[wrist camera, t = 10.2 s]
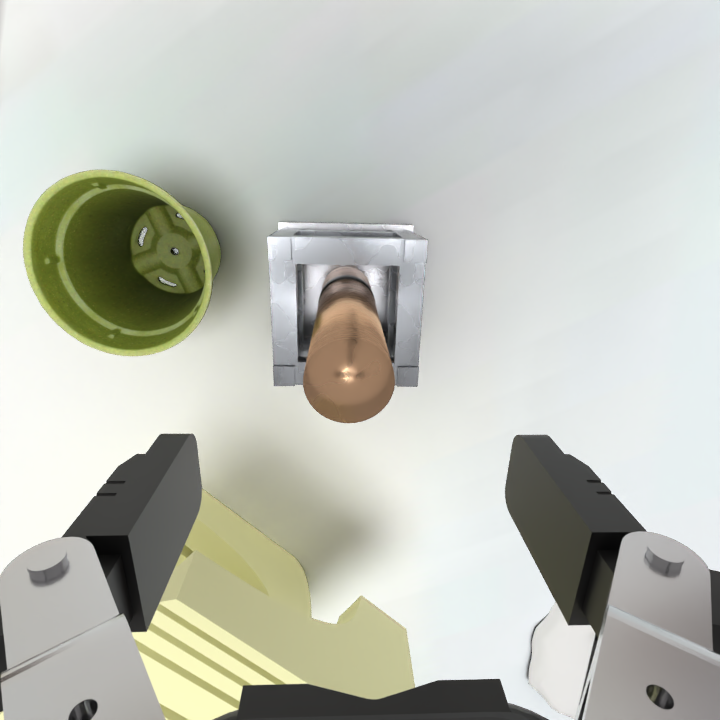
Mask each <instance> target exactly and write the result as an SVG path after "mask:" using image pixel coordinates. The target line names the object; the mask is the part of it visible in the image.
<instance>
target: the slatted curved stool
mask: <svg viewBox="0 0 720 720" xmlns="http://www.w3.org/2000/svg"><path fill="white" fill-rule="evenodd" d="M132 635H133V638H134V640H135V643H136V645H137V648H138V650H139V653H140V655H141V658H142V661H143V663H144V666H145V668H146V671H147V673H148V676H149V678H150V681H151V684H152V686H153V689H154V691H155V694H156V696H157V699H158V702H159V704H160V707H161V709H162V712H163V714H164V717H165V719H166V720H213V719H215V718H217V717H220V716H222V715H224V714H226V713H229V712H232V711H235V710H238V709H239V704H240V699H241V693H242V688H243V685H277V684H310V685H314V686H318V687H322V688H326V689H330V690H334V691H338V692H342V693H346V694H350V695H354V696H358V697H362V698H366V699H381V698H384V697H387V696H390V695H394V694H397V693H400V692H403V691H406V690H409V689H413V688H415V684H414V677H413V671H412V664H411V658H410V651H409V645H408V638H407V632H406V628H404V627H403V626H402V625H400V624H399V623H398V622H396V621H395V620H394V619H392V618H391V617H390V616H388V615H387V614H386V613H384V612H383V611H382V610H380V609H379V608H378V607H376V606H375V605H374V604H372V603H371V602H370V601H368V600H367V599H366V598H364V597H363V596H360V597H359V598H358V599H357V600H356V601H355V602H354V603H353V604H352V605H351V606H350V607H349V608H348V609H347V610H346V611H345V612H344V613H343V614H342V615H341V616H339V619H338V622H337V624H331V623H326V622H322V621H319V620H316V619H313V618H311V601H310V593H309V587H308V582H307V578H306V575H305V573H304V570H303V568H302V566H301V565H300V563H299V561H298V560H297V559H296V558H295V557H294V556H292V555H291V554H290V553H288V552H287V551H286V550H284V549H283V548H282V547H280V546H279V545H278V544H276V543H275V542H273V541H272V540H271V539H269V538H268V537H267V536H265V535H264V534H263V533H261V532H260V531H259V530H257V529H256V528H255V527H253V526H252V525H250V524H249V523H248V522H246V521H245V520H244V519H242V518H241V517H240V516H238V515H237V514H236V513H234V512H233V511H232V510H230V509H229V508H228V507H226V506H225V505H223V504H222V503H221V502H219V501H218V500H217V499H215V498H214V497H213V496H211V495H210V494H209V493H207V492H206V491H205V490H203V489H202V499H201V505H200V510H199V513H198V515H197V518H196V520H195V522H194V524H193V527H192V529H191V531H190V534H189V536H188V538H187V541H186V543H185V545H184V547H183V550H182V552H181V554H180V557H179V559H178V561H177V564H176V566H175V568H174V570H173V573H172V575H171V577H170V580H169V582H168V584H167V586H166V589H165V591H164V593H163V596H162V598H161V600H160V603H159V605H158V607H157V609H156V612H155V614H154V616H153V619H152V621H151V623H150V626H149V628H148V630H147V632H132ZM0 720H4V714H3V711H2V712H0Z"/></svg>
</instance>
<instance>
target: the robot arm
mask: <svg viewBox="0 0 720 720" xmlns="http://www.w3.org/2000/svg"><path fill="white" fill-rule="evenodd" d="M505 498H506V504H507V508H508V511H509V513H510V515H511V517H512V519H513V521H514V522H515V524H516V526H517V528H518V530H519V532H520V534H521V536H522V538H523V540H524V542H525V544H526V545H527V547H528V549H529V551H530V553H531V555H532V557H533V559H534V561H535V563H536V565H537V567H538V568H539V570H540V572H541V574H542V576H543V578H544V580H545V582H546V584H547V586H548V588H549V589H550V591H551V593H552V595H553V597H554V599H555V601H556V603H557V605H558V607H559V609H560V611H561V612H562V614H563V616H564V618H565V620H566V622H567V624H568V626H570V625H591V627H592V629H593V630H594V632H595V637H594V640H593V644H592V648H591V652H590V656H589V660H588V665H587V669H586V673H585V677H584V682H583V686H582V690H581V694H580V698H579V703H578V707H577V711H576V715H575V720H720V572H718V571H713V570H709V569H708V567H707V565H706V564H705V562H704V561H703V560H702V559H701V558H700V557H699V556H698V555H697V554H696V553H695V552H694V551H692V550H691V549H689V548H688V547H687V546H685V545H683V544H682V543H680V542H678V541H676V540H674V539H671V538H669V537H666V536H663V535H660V534H657V533H652V532H647V531H646V530H645V529H644V528H643V527H642V526H641V524H640V523H639V522H638V521H637V520H636V519H635V518H634V517H633V515H632V514H631V513H630V512H629V511H628V510H627V509H626V508H625V507H624V505H623V504H622V503H621V502H620V501H619V500H618V499H617V498H616V496H615V495H612V494H611V491H610V490H609V489H608V488H607V486H606V485H605V484H604V483H601V480H600V479H599V477H598V476H597V475H596V474H595V473H594V472H593V471H592V470H591V468H590V467H589V466H587V465H586V464H584V463H583V462H581V461H579V460H578V459H576V458H575V457H573V456H572V455H570V454H564V453H563V452H562V451H561V450H560V448H559V447H558V446H557V445H556V444H555V442H554V441H553V440H552V439H551V438H550V437H549V436H548V435H517V436H515V438H514V440H513V443H512V449H511V455H510V461H509V468H508V474H507V480H506V486H505ZM201 499H202V485H201V476H200V468H199V459H198V450H197V442H196V438H195V436H194V435H193V434H161V435H159V436H158V438H157V439H156V440H155V442H154V443H153V445H152V446H151V447H150V449H149V450H148V451H147V453H146V454H136V455H135V456H133V457H132V458H130V459H129V460H127V461H126V462H124V463H123V464H121V465H120V466H118V467H117V468H116V470H115V471H114V472H113V474H112V475H111V476H110V477H109V479H108V480H107V483H106V484H104V485H103V486H102V487H101V489H100V490H99V491H98V492H97V496H94V497H93V499H92V500H91V501H90V502H89V504H88V505H87V506H86V507H85V509H84V510H83V511H82V512H81V514H80V515H79V516H78V517H77V519H76V520H75V521H74V522H73V524H72V525H71V526H70V527H69V529H68V530H67V531H66V532H65V534H64V535H63V536H62V537H61V538H57V539H53V540H49V541H46V542H43V543H41V544H38V545H36V546H34V547H32V548H30V549H28V550H27V551H25V552H23V553H22V554H20V555H19V556H18V557H16V558H15V559H14V560H13V561H12V562H11V563H9V564H8V566H7V567H6V568H5V569H4V571H3V572H2V574H1V576H0V712H2V711H3V714H4V720H166V719H165V717H164V714H163V712H162V709H161V707H160V704H159V702H158V699H157V696H156V694H155V691H154V689H153V686H152V684H151V681H150V678H149V676H148V673H147V671H146V668H145V666H144V663H143V661H142V658H141V655H140V653H139V650H138V648H137V645H136V643H135V640H134V638H133V635H132V632H147V630H148V628H149V626H150V623H151V621H152V619H153V616H154V614H155V612H156V609H157V607H158V605H159V603H160V600H161V598H162V596H163V593H164V591H165V589H166V586H167V584H168V582H169V580H170V577H171V575H172V573H173V570H174V568H175V566H176V564H177V561H178V559H179V557H180V554H181V552H182V550H183V547H184V545H185V543H186V541H187V538H188V536H189V534H190V531H191V529H192V527H193V524H194V522H195V520H196V518H197V515H198V513H199V510H200V505H201ZM213 720H548V719H546V718H544V717H542V716H540V715H538V714H537V713H535V712H533V711H530V710H528V709H525V708H522V707H520V706H517V705H514V704H510V703H507V700H506V697H505V693H504V690H503V687H502V684H501V681H500V679H479V680H438V681H435V682H432V683H428V684H425V685H422V686H419V687H416V688H413V689H409V690H406V691H403V692H400V693H397V694H394V695H390V696H387V697H384V698H381V699H366V698H362V697H358V696H354V695H350V694H346V693H342V692H338V691H334V690H330V689H326V688H322V687H318V686H314V685H310V684H277V685H243V688H242V693H241V699H240V704H239V709H238V710H235V711H232V712H229V713H226V714H224V715H222V716H220V717H217V718H215V719H213Z"/></svg>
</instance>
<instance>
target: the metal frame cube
mask: <svg viewBox="0 0 720 720" xmlns="http://www.w3.org/2000/svg"><path fill="white" fill-rule="evenodd" d="M278 229H279V230H278V231H276V232H274V233H273V234H271V235H270V236H268V237H267V241H268V260H269V273H270V296H271V318H272V341H273V364H274V366H273V376H274V386H295V385H303V375H304V370H305V365H306V361H307V356H308V352H309V347H310V342H311V338H312V333H313V328H314V324H315V319H316V314H317V310H318V301H319V296H320V293H321V291H322V286H323V283H324V280H325V278H326V277H327V276H328V274H329V273H331V272H332V271H333V270H335V269H337V268H340V267H353V268H356V269H358V270H360V271H361V272H362V273H363V274H364V275H365V276H366V277H367V279H368V281H369V283H370V286H371V290H372V292H373V295H374V298H375V303H376V308H377V312H378V316H379V319H380V323H381V326H382V330H383V334H384V337H385V341H386V345H387V348H388V352H389V356H390V359H391V363H392V366H393V370H394V375H395V385H397V386H405V387H417V385H418V371H419V367H418V362H419V348H420V334H421V321H422V307H423V293H424V279H425V265H426V261H427V247H428V240H427V239H425V238H423V237H421V236H419V235H417V234H416V233H414V232H413V229H414V225H412V224H367V223H322V222H278Z"/></svg>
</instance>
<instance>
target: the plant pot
mask: <svg viewBox="0 0 720 720" xmlns="http://www.w3.org/2000/svg"><path fill="white" fill-rule="evenodd" d="M177 213H179V214H180V215H181V216H182V217H183V218H184V219H182V218H178V217H176V214H177ZM144 227H146V228H147V233H146V235H145V237H144V241H143V246H141V247H140V246H139V244H138V237H139V234H140V231H141V230H142V229H143V228H144ZM172 248H176V249H178V251H179V253H178V254H177V255H173V254H172V253H171V249H172ZM23 257H24V263H25V267H26V271H27V276H28V279H29V281H30V284H31V287H32V289H33V291H34V293H35V295H36V296H37V298H38V300H39V302H40V304H41V306H42V307H43V308H44V310H45V311H46V312H47V313H48V315H49V316H50V317H51V318H52V319H53V320H54V321H55V323H57V324H58V325H59V326H60V327H61V328H62V329H63V330H65V331H66V332H67V333H68V334H70V335H71V336H73V337H74V338H75V339H77V340H78V341H80V342H82V343H83V344H85V345H87V346H90V347H92V348H95V349H97V350H100V351H103V352H106V353H110V354H115V355H121V356H143V355H150V354H155V353H158V352H161V351H164V350H167V349H169V348H171V347H173V346H175V345H177V344H178V343H180V342H181V341H183V340H184V339H185V338H187V337H188V336H189V335H190V334H191V333H192V332H193V331H194V329H195V328H196V327H197V326H198V324H199V323H200V321H201V320H202V318H203V316H204V314H205V312H206V310H207V308H208V305H209V302H210V298H211V293H212V285H213V279H214V277H215V276H216V274H217V272H218V269H219V266H220V260H221V250H220V245H219V242H218V239H217V237H216V234H215V232H214V231H213V229H212V227H211V225H210V224H209V223H208V222H207V221H206V219H205V218H204V217H202V216H201V215H200V214H199V213H197V212H196V211H194V210H192V209H190V208H188V207H186V206H183V205H181V204H180V203H179V202H178V201H177V200H176V199H175V198H174V197H172V196H171V195H170V194H169V193H167V192H166V191H165V190H163V189H162V188H160V187H158V186H157V185H155V184H153V183H151V182H149V181H147V180H145V179H143V178H140V177H137V176H134V175H131V174H128V173H124V172H119V171H113V170H89V171H84V172H79V173H76V174H73V175H70V176H67V177H65V178H63V179H61V180H59V181H58V182H56V183H55V184H53V185H52V186H51V187H49V188H48V189H47V190H46V191H45V192H44V193H43V194H42V195H41V196H40V198H39V199H38V200H37V202H36V203H35V205H34V206H33V208H32V210H31V212H30V214H29V217H28V220H27V224H26V227H25V232H24V240H23ZM204 269H205V273H204ZM158 277H161V278H163V279H165V280H167V281H169V282H172V283H175V284H177V286H175V287H171V286H168V285H165V284H162V283H161V282H159V280H158Z"/></svg>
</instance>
